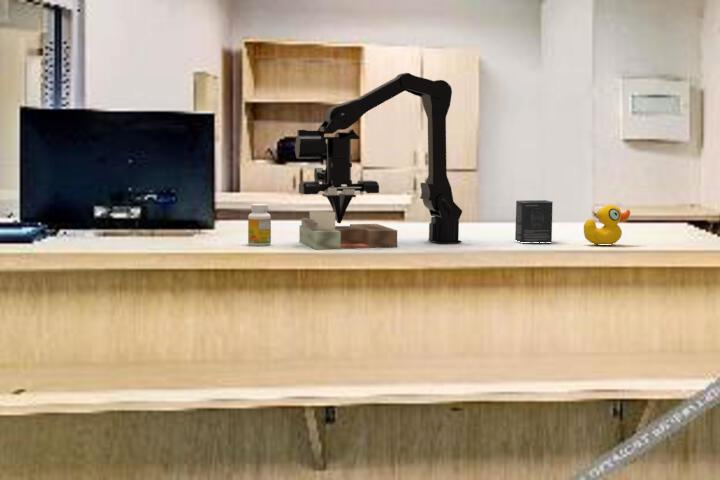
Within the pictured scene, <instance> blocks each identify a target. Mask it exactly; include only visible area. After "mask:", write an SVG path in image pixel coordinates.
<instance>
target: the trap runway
mask: <svg viewBox="0 0 720 480" xmlns="http://www.w3.org/2000/svg"><path fill="white" fill-rule="evenodd" d="M300 220H301V224H300V225H299V239H298V240H299V241H298V242H300V243H301V244H304V245H306V246H308V247H310V248H312V249H314V250H336V249H337V250H339V249H340V250H341V248H348V249H375V248H376V249H377V248H379V249H381V248H385V249H386V248H397V247H398V230H397V229H395V228H391V227H388V226H384V225H381V224H378V223H352V224H351V223H350V224H349V225H339V226H338V225H335V229H321V230H318V223H317V222H315V221H312V220H310V218H307V217H301V219H300Z"/></svg>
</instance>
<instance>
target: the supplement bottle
mask: <svg viewBox="0 0 720 480" xmlns="http://www.w3.org/2000/svg"><path fill="white" fill-rule="evenodd" d="M250 210H251V213H249V214H248V217H247V222H248V223H247V229H248V230H247V234H248V235H247V236H248V239H247V243H248V245H249V246H252V247H254V246H255V247H266V246H271V242H272V230H271V229H272V216H271V214H270V213H268V210H269V205H268V204H267V203H252V204H251V206H250Z"/></svg>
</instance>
